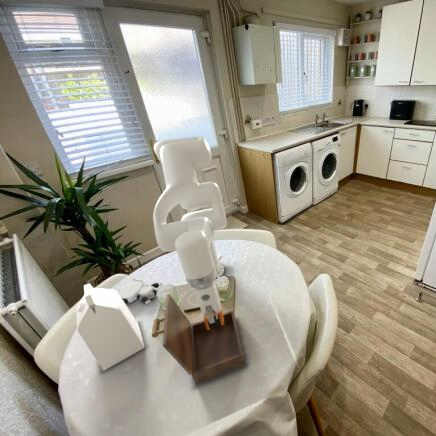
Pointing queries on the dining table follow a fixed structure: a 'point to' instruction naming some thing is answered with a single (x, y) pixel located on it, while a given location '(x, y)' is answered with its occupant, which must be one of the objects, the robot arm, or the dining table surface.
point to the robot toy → (138, 291)
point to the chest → (215, 348)
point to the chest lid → (175, 334)
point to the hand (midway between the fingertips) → (214, 318)
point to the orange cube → (213, 315)
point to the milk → (107, 326)
